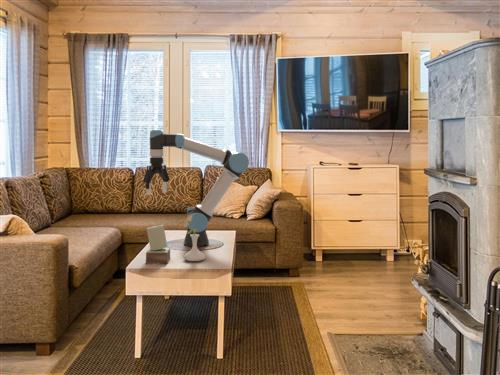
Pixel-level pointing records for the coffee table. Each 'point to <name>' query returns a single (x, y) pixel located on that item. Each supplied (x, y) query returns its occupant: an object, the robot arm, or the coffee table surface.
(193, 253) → the flower in vase
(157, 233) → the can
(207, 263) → the coffee table surface
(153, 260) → the brown square box
